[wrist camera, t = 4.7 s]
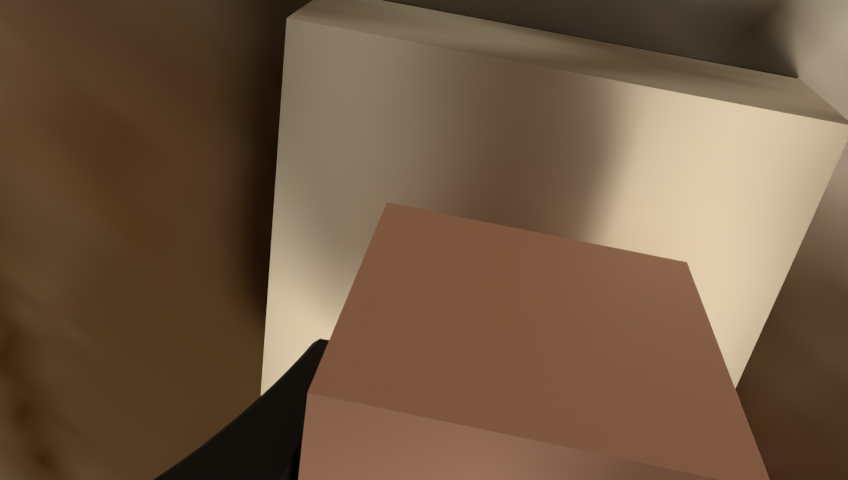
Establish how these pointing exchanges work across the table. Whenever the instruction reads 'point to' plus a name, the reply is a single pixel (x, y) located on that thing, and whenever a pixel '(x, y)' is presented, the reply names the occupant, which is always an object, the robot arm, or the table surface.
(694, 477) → the cube
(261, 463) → the robot arm
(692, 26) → the table surface
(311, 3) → the base
